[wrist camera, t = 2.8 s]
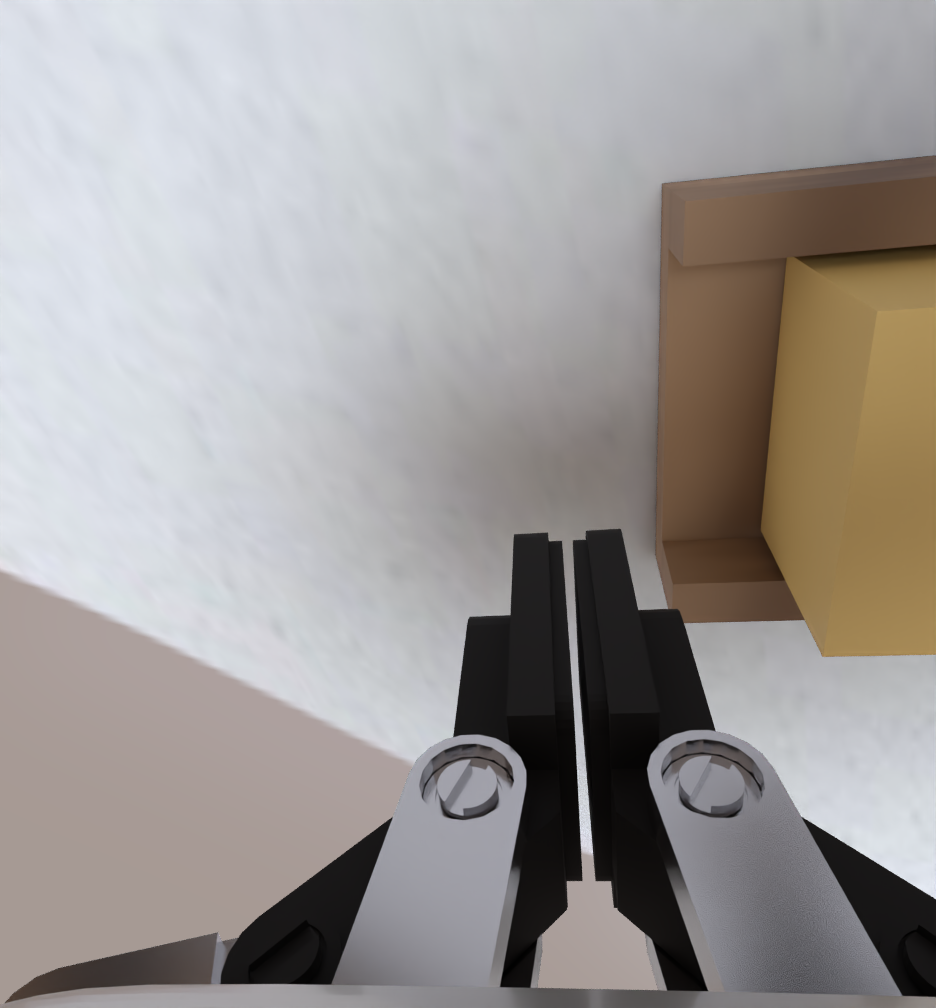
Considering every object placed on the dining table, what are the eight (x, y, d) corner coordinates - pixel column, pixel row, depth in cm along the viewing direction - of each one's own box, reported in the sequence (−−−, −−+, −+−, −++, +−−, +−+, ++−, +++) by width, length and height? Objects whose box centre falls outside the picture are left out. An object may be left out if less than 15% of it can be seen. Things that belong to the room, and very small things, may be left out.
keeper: (1039, 230, 15) (1236, 284, 11) (967, 521, 19) (1095, 651, 14) (787, 252, 16) (877, 311, 12) (760, 529, 19) (822, 656, 15)
